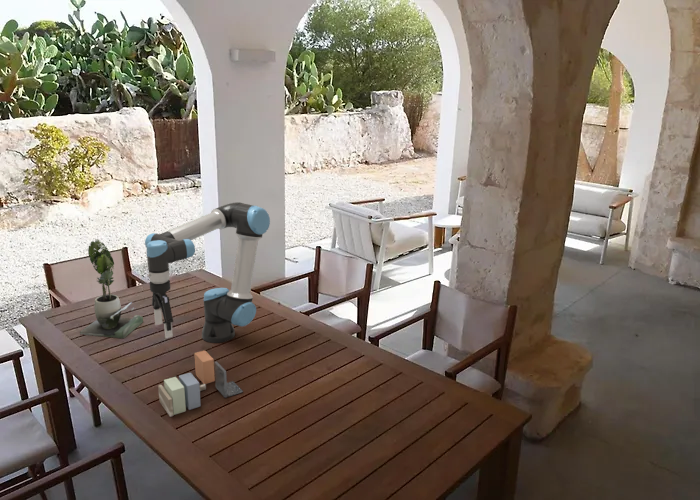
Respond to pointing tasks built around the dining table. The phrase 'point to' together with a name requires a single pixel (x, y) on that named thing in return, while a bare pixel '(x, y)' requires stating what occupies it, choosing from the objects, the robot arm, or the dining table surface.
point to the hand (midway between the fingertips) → (163, 330)
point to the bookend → (224, 382)
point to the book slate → (190, 390)
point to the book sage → (176, 394)
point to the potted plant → (108, 300)
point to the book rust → (204, 367)
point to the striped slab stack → (169, 399)
